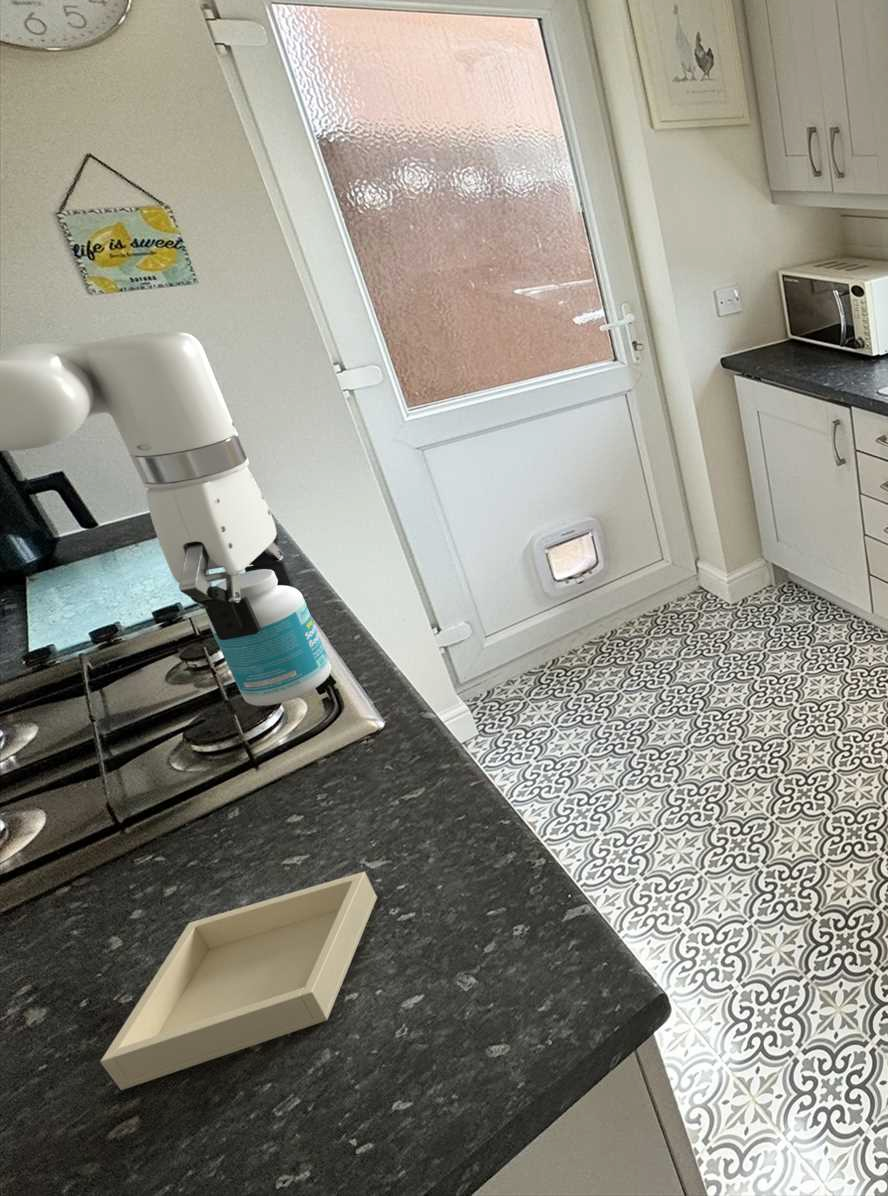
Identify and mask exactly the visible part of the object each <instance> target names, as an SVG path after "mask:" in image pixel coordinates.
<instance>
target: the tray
mask: <svg viewBox="0 0 888 1196" xmlns="http://www.w3.org/2000/svg"><path fill="white" fill-rule="evenodd" d="M377 899H378V896H377V894H376V891H375V890H374V888H373V886H372V883H371V882H370V879H369V877H368V875H367V873H366V871H362V872H358V873H355V874H350V875H348V876H344V877H341V878H338V879H334V880H331V881H327V882H323V883H321V884H320V883H319V884H316V885H313V886H309V887H307V888H303V889H300V890H296V891H294V892H290V893H286V894H283V895H279V896H276V897H272V898H269V899H266V900H262V901H258V902H256V903H252V904H249V905H245V906H241V907H238V908H235V909H232V910H231V909H230V910H228V911H224V912H222V913H217V914H214V915H211V916H208V917H203V918H201V919H197V920H194V921H191V922H188V924H187V925H186V927H185V928H184V929H183V931H182V933H181V934H180V936H179V938H178V939H177V941H176V942H175V944H174V946H173V947H172V949H171V950H170V952H169V953H168V955H167V956H166V958H165V960H164V961H163V962H162V964H161V966H160V968H158V970H157V972H156V974H155V975H154V977H153V978H152V980H151V981H150V982H149V985H148V986H147V987H146V989H145V991H143V994H142V995H141V997H140V999H139V1001H137V1003H136V1005H135V1006H134V1008H133V1009H132V1011H131V1012H130V1014H129V1015H128V1017H127V1019H126V1020H125V1022H124V1024H123V1025H122V1026H121V1028H120V1030H119V1031H118V1033H117V1035H116V1036H115V1038H114V1039H113V1040H112V1042H111V1044H110V1045H109V1047H108V1049H107V1050H106V1052H104V1055H103V1056H102V1058H101V1059H100V1064H101V1065H102V1067H103V1068H104V1069H105V1071H106V1072H107V1073H108V1074H109V1076H110V1077H111V1079H112V1080H113V1082H114V1083H115V1084H116V1085H117V1087H118V1088H119V1089H120V1091H123V1090H126V1089H129V1088H132V1087H135V1086H138V1085H141V1084H144V1083H147V1082H150V1081H153V1080H156V1079H159V1078H162V1077H165V1076H167V1075H170V1074H174V1073H177V1072H179V1071H182V1070H185V1069H189V1068H191V1067H195V1066H198V1065H200V1064H203V1063H206V1062H209V1061H212V1060H214V1059H218V1058H220V1057H224V1056H226V1055H229V1054H232V1053H235V1052H238V1051H241V1050H244V1049H247V1048H250V1047H253V1046H256V1045H259V1044H261V1043H265V1042H267V1041H268V1042H269V1041H271V1040H273V1039H277V1038H280V1037H283V1036H286V1035H288V1034H291V1033H295V1032H297V1031H300V1030H303V1029H306V1028H308V1027H311V1026H315V1025H318V1024H321V1023H324V1022H326V1021H328V1020H329V1017H330V1014H331V1012H332V1009H333V1008H334V1005H335V1002H336V999H337V997H338V995H339V992H340V989H341V987H342V985H343V982H344V980H345V978H346V975H347V973H348V970H349V968H350V965H351V963H352V960H353V958H354V956H355V953H356V950H357V948H358V946H359V942H360V941H361V939H362V936H363V933H364V931H365V929H366V926H367V923H368V921H369V919H370V916H371V914H372V911H373V909H374V906H375V904H376V901H377Z"/></svg>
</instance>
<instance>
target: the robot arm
mask: <svg viewBox="0 0 888 1196" xmlns="http://www.w3.org/2000/svg"><path fill="white" fill-rule="evenodd" d="M100 414H108V415H110V416H111V418H112V419H113V421H114V424H115V426H116V428H117V430H118V433H119V434H120V437H121V438H122V441H123V443H124V445H125V448H126V450H127V452H128V454H129V456H130V458H131V460H132V463H133V465H134V467H135V469H136V471H137V474H138V476H139V478H140V480H141V482H142V484H143V486H144V488H146V489H147V490H146V492H145V494H146V499H147V505H148V510H149V515H150V518H151V522H152V526H153V529H154V531H155V534H156V538H157V540H158V543H159V545H160V548H161V551H162V554H163V556H164V558H165V561H166V564H167V565H168V568H169V571H170V572H171V575H172V577H173V579H174V581H175V582H177V583H178V589H179V591H180V592H181V593H182V594H184V595H185V596H188V597H189V598H190V599H191V600H192V601H193V602H194V603H196V604H198V606H199V608H200V609H201V610H205V612H206V614H207V616H208V620H209V619H210V621H211V623H212V625H213V627H214V630H215V632H216V634H217V636H218V638H219V639H220V640H228V639H233V638H238V637H243V636H249V635H254V634H257V633H258V632H259V631H260V629H261V628H260V625H259V623H258V621H257V619H256V616H255V614H254V612H253V609H252V607H251V605H250V603H249V600H248V598H247V597H244V598H241V592H240V580H239V574H241V572H242V571H245V572H249V571H254V570H261V569H269V570H272V571H274V573H275V575H276V577H277V579H278V584H277V585H284V586H290V587H293V588H295V586H294V583H293V581H292V578H291V576H290V574H289V572H288V569H287V566H286V564H285V561H284V560H283V558H284V553H283V550H282V549H281V548H280V547H279V539H280V537H279V535H278V532H277V527H276V526H277V525H276V523H277V522H276V516H275V515H274V514H272V512H271V511H270V508H269V506H268V504H267V502H266V500H265V498H264V496H263V493H262V491H261V489H260V488H259V485H258V483H257V482H256V480H255V478H254V476H253V475H252V473H251V470H250V469H249V467H248V466H249V465H250V461H249V458H248V456H247V454H246V450H245V448H244V446H243V444H242V441H241V439H240V436H239V434H238V432H237V430H236V426H235V423H234V422H233V419H232V417H231V415H230V412H229V410H228V407H227V404H226V402H225V399H224V397H223V394H222V392H221V390H220V387H219V385H218V382H217V380H216V377H215V375H214V372H213V370H212V367H211V365H210V363H209V360H208V358H207V355H206V352H205V350H204V348H203V346H202V344H201V343H200V342H199V340H198V339H197V338H196V337H194V336H193V335H191V334H189V333H186V332H182V331H181V332H180V331H155V332H145V333H137V334H129V335H123V336H118V337H113V338H110V339H104V340H100V341H82V342H79V341H78V342H50V343H49V342H45V343H44V342H42V343H40V342H39V343H24V344H16V345H11V346H6V347H1V348H0V452H9V451H10V452H12V451H24V450H33V449H39V448H42V447H46V446H50V445H53V444H56V443H58V442H61V441H63V440H65V439H67V438H68V437H70V436H72V435H73V434H74V433H75V432H76V431H77V430H78V429H79V428H81V426H82V425H83V424H84V422H85V421H86V420H88V419H89V418H92V417H93V416H95V415H100ZM220 568H223V569H224V571H221V572H215V573H210V572H209V571H210V570H215V569H220ZM224 580H226V590H225V589H222V588H220V587H218V586H216V585H212V584H213V583H212V582H216V581H224Z"/></svg>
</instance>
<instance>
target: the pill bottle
mask: <svg viewBox="0 0 888 1196" xmlns="http://www.w3.org/2000/svg"><path fill="white" fill-rule="evenodd" d="M239 580H240V592H241V598H244V597H247V598H248V600H249V603H250V605H251V607H252V609H253V612H254V614H255V616H256V619H257V621H258V623H259V625H260V628H261V629H260V631H259V632H258V633H257V634H254V635H249V636H243V637H238V638H233V639H228V640H220V639H219V638H218V636H217V634H216V632H215V630H214V627H213V625H212V623H211V621H210V619H209V618H208V625H209V628H210V630H211V632H212V635H213V636H214V638H215V641H216V643H217V645H218V647H219V650H220V652H221V654H222V656H223V659H224V660H225V662H226V665H227V666H228V669H229V671H230V673H231V675H232V678H233V680H234V682H235V684H236V686H237V688H238V690H239V693H240V694H241V696H242V699H243V700H244V702H246V703H247V704H250V705H252V706H257V707H260V706H261V707H265V706H273V705H278V704H283V703H285V702H289V701H291V700H295V699H297V698H300V697H302V696H303V695H306V694H307V693H310V692H311V691H314V690H315V689H317V688H318V687H319V686H320V685H322V684H323V683H324V682H325V681H326V680H327V679H328V678H329V676H330V675H331V672H332V664H331V662H330V660H329V657H328V655H327V652H326V650H325V647H324V645H323V643H322V640H321V637H320V635H319V632H318V630H317V627H316V626H315V623H314V620H313V618H312V615H311V613H310V611H309V608H308V606H307V603H306V600H305V598H304V595H303V594H302V592H301V591H299V589H297V588H296V587H294V588H293V587H290V586H284V585H277V584H278V579H277V577H276V575H275V573H274V571H272V570H269V569H261V570H254V571H249V572H246V571H245V572H242V573H241V572H240V573H239ZM215 586H218V587H220V588H222V589H225V590H226V579H223V580H221V581H220V582H218V583H217V584H216V585H215Z"/></svg>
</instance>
